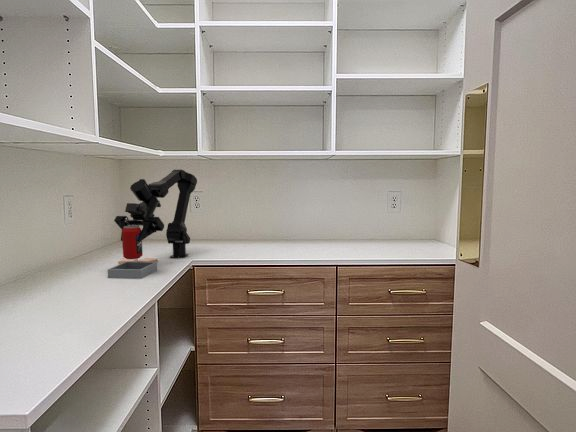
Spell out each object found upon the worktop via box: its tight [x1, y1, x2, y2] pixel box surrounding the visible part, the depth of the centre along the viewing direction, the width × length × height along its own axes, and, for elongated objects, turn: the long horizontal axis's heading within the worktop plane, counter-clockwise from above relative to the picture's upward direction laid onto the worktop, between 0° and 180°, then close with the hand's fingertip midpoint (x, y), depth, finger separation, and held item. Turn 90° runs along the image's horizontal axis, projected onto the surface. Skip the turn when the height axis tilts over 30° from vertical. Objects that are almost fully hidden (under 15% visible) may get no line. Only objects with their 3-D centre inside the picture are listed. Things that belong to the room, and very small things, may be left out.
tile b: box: [137, 257, 159, 263], centre depth 158 cm, size 6×6×1 cm
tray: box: [107, 261, 158, 280], centre depth 139 cm, size 13×13×3 cm
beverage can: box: [121, 225, 143, 260], centre depth 138 cm, size 7×7×12 cm
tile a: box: [117, 257, 139, 265], centre depth 158 cm, size 6×6×1 cm
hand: (129, 241), depth 136 cm, fingers closed on beverage can, 7 cm apart
